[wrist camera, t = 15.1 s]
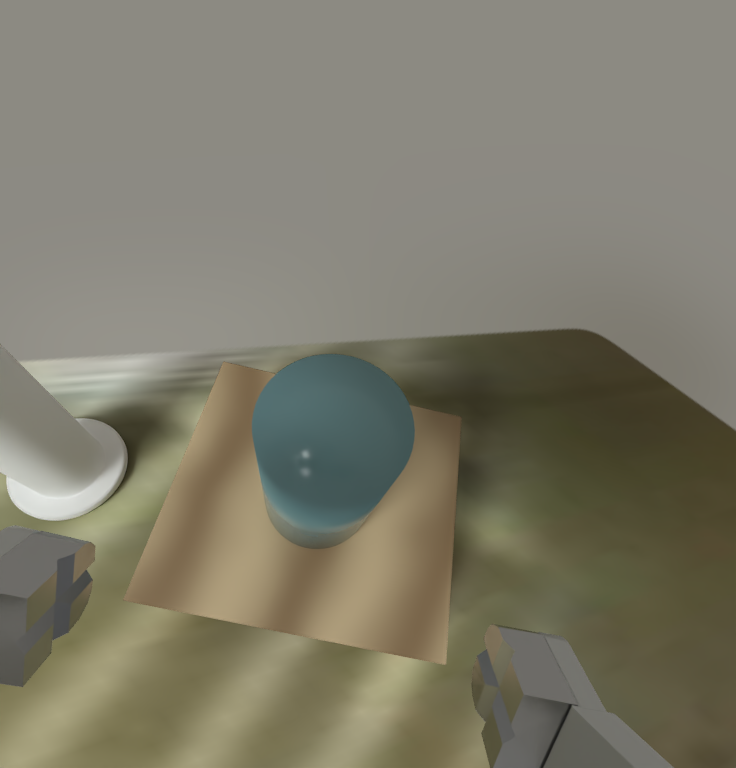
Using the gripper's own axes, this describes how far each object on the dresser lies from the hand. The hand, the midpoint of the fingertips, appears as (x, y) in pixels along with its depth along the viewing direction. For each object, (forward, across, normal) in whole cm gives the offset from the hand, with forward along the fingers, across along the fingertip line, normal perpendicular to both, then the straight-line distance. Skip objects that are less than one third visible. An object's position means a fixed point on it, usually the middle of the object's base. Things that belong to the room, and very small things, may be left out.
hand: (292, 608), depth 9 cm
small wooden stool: (+20, 0, +11) cm, 22 cm away
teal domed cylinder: (+15, 0, +6) cm, 16 cm away
